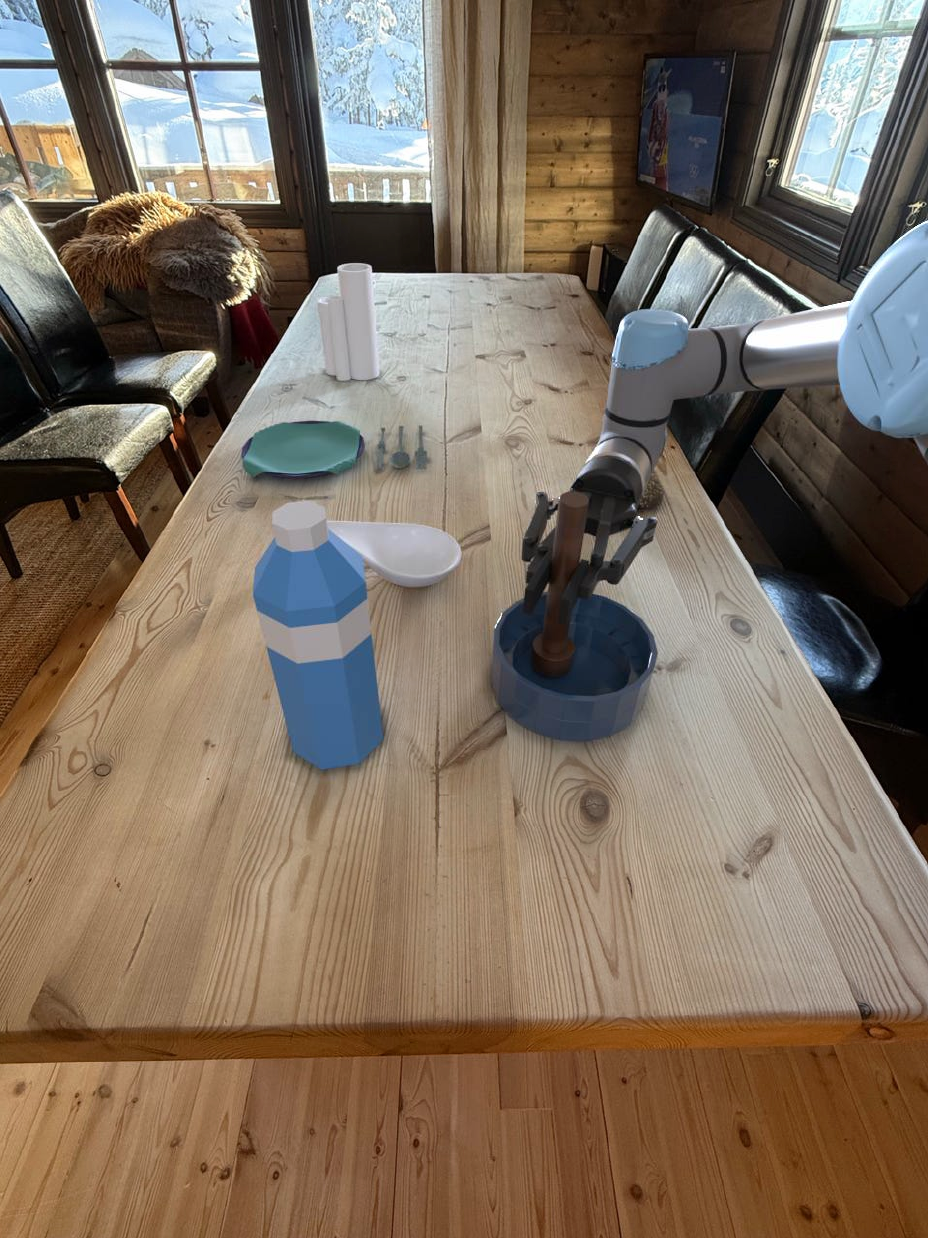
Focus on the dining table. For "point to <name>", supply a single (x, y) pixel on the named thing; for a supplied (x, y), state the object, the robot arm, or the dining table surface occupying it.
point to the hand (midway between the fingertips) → (545, 606)
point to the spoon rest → (402, 550)
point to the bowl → (575, 670)
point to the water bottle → (319, 638)
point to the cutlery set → (315, 449)
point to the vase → (350, 325)
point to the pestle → (561, 587)
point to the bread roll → (652, 493)
